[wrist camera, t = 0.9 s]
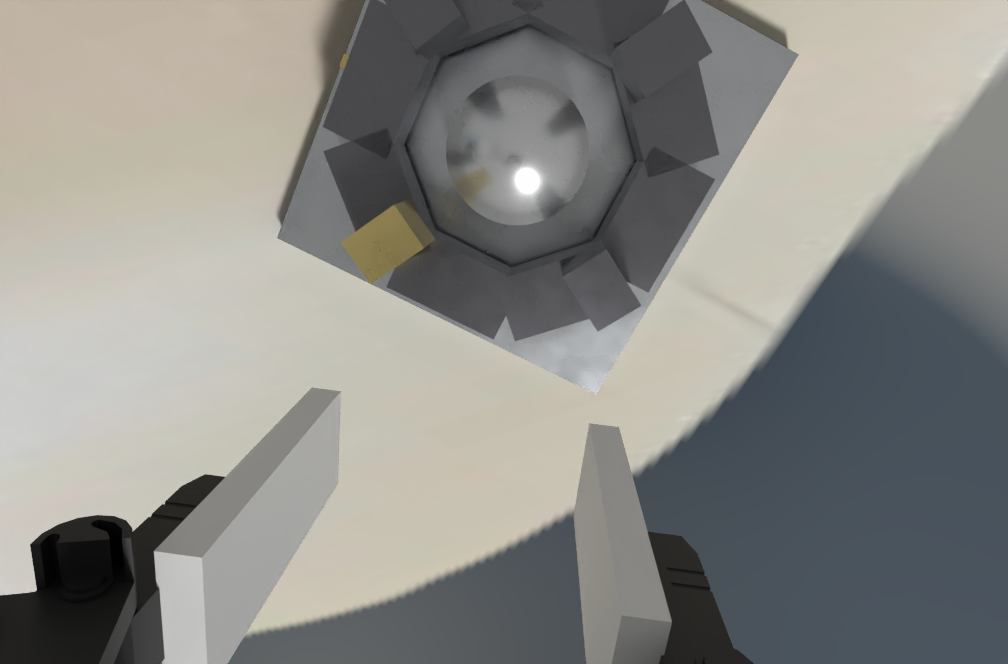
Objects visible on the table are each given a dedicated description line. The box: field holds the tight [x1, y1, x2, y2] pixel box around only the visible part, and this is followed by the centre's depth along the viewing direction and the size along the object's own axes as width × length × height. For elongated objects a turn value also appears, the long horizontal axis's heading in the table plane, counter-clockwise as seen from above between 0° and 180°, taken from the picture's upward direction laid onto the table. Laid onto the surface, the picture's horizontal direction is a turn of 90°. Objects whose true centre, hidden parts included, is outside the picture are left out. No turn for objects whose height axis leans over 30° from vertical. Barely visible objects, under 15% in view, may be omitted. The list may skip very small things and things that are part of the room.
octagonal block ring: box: [323, 0, 719, 341], centre depth 29 cm, size 18×18×6 cm
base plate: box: [277, 0, 799, 394], centre depth 31 cm, size 21×21×4 cm
